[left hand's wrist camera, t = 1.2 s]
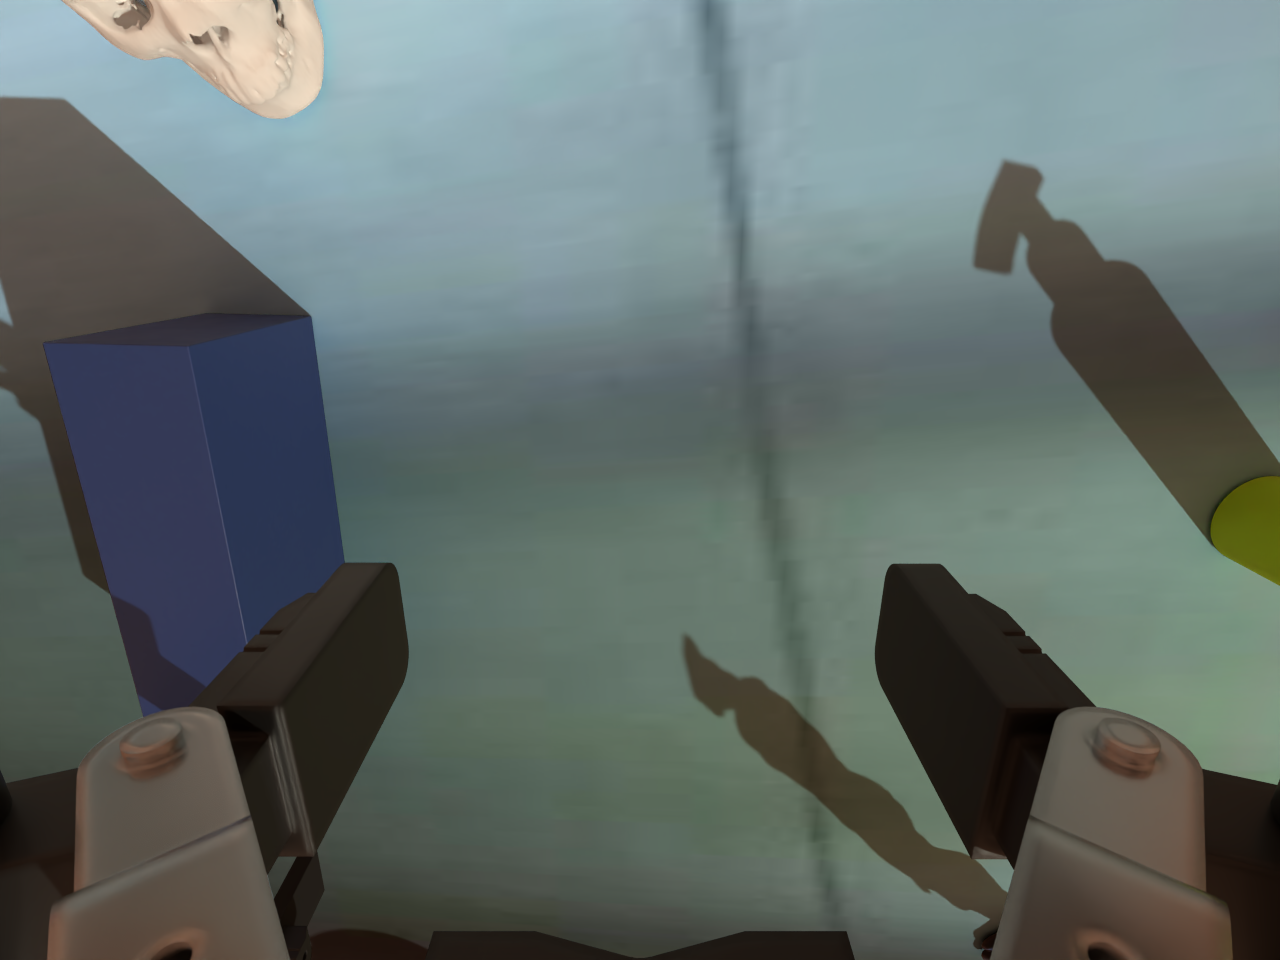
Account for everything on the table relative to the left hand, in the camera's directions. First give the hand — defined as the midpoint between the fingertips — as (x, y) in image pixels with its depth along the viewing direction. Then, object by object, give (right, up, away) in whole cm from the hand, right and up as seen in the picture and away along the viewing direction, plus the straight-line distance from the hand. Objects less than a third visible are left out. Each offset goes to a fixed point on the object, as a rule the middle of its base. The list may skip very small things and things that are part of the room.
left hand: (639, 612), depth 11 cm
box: (-22, -1, +33) cm, 39 cm away
